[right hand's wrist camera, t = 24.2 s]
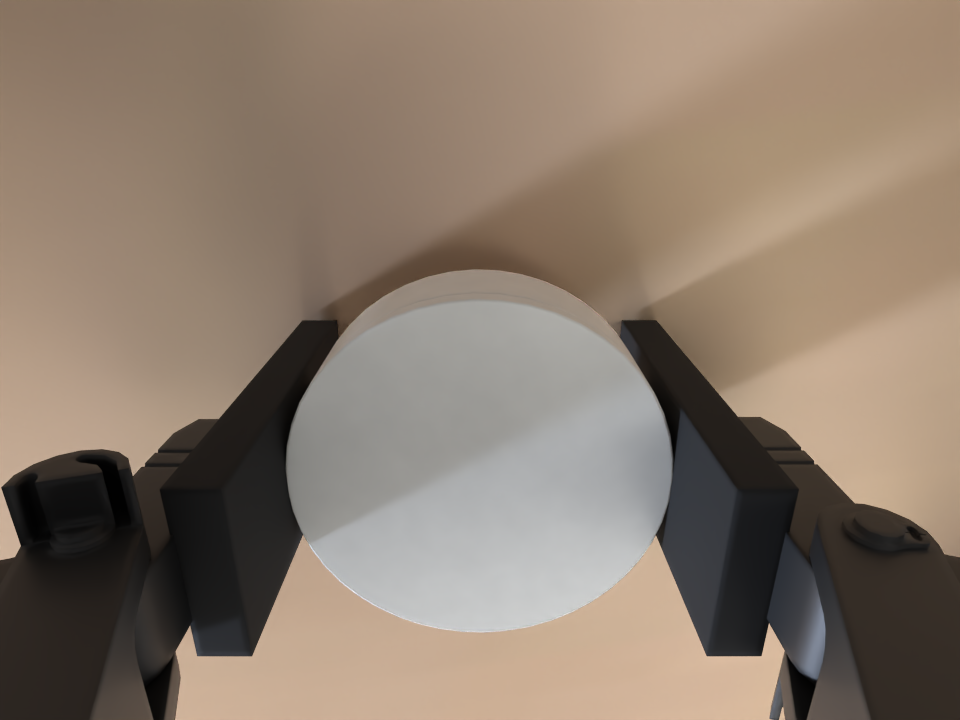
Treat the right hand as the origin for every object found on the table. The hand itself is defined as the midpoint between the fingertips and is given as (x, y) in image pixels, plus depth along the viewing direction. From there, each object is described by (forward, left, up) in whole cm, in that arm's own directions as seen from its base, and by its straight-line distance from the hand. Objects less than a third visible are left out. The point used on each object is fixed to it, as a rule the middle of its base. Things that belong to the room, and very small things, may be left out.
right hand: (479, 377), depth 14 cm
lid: (0, 0, +4) cm, 4 cm away
